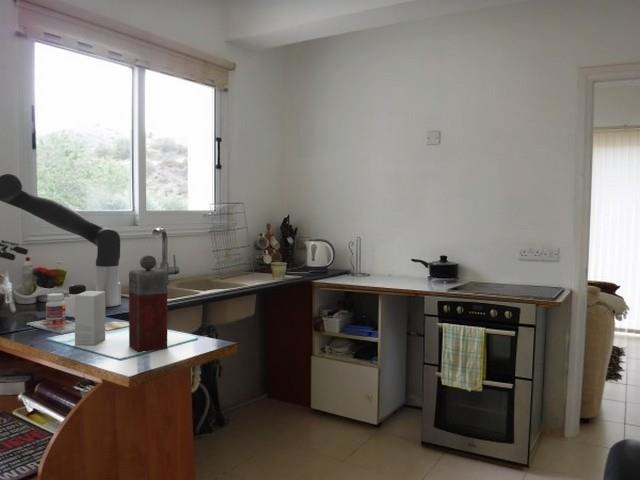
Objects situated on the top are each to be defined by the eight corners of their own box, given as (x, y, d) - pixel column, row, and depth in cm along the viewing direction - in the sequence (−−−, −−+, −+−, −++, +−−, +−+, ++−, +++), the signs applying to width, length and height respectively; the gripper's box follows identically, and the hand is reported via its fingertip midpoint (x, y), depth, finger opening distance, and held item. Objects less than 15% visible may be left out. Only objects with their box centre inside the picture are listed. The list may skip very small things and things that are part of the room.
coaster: (114, 322, 192) (114, 321, 192) (132, 325, 186) (132, 324, 186) (90, 327, 183) (89, 325, 183) (107, 331, 178) (107, 329, 178)
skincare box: (86, 338, 167) (86, 290, 166) (107, 339, 167) (106, 290, 166) (73, 345, 159) (73, 294, 158) (95, 345, 159) (94, 295, 158)
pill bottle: (66, 326, 183) (66, 294, 183) (47, 328, 180) (46, 296, 179) (64, 323, 188) (64, 292, 188) (45, 325, 185) (44, 293, 184)
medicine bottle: (91, 314, 205) (91, 284, 204) (76, 318, 198) (76, 286, 197) (78, 313, 208) (78, 283, 207) (63, 316, 201) (62, 285, 200)
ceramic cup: (282, 280, 316) (282, 264, 315) (267, 279, 319) (267, 263, 319) (291, 278, 328) (291, 262, 327) (276, 277, 331) (277, 261, 331)
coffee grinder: (155, 340, 166) (155, 253, 165) (167, 348, 157) (167, 255, 155) (126, 344, 161) (126, 254, 159) (137, 352, 152) (137, 257, 150)
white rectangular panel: (56, 320, 194) (56, 317, 194) (92, 328, 182) (92, 325, 182) (26, 325, 185) (26, 322, 185) (61, 333, 173) (61, 331, 172)
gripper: (-38, 236, 174) (12, 248, 175) (-13, 229, 188) (33, 240, 189) (-41, 257, 175) (8, 269, 177) (-16, 248, 189) (29, 259, 191)
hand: (21, 254), depth 183 cm, fingers open, 8 cm apart
